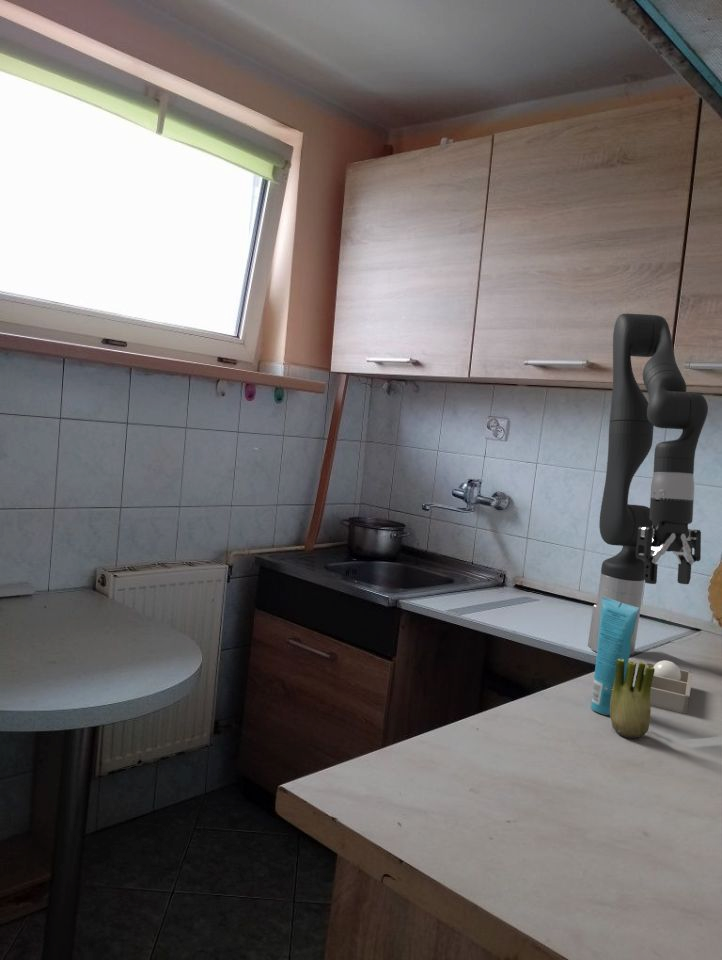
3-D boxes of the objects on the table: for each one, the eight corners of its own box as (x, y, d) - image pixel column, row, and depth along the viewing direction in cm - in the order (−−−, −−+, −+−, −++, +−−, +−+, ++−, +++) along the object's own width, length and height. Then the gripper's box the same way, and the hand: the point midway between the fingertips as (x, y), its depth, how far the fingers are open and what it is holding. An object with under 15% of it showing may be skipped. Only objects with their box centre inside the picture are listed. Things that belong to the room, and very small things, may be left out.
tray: (641, 681, 150) (643, 661, 150) (689, 692, 146) (692, 672, 146) (632, 706, 134) (635, 684, 134) (686, 719, 131) (689, 697, 130)
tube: (631, 716, 129) (647, 606, 128) (616, 721, 126) (631, 608, 125) (594, 701, 135) (608, 595, 133) (578, 705, 132) (592, 597, 130)
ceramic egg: (643, 683, 145) (647, 657, 145) (663, 682, 147) (667, 656, 147) (664, 693, 140) (668, 666, 140) (685, 692, 143) (689, 665, 142)
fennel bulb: (602, 728, 122) (612, 656, 121) (624, 725, 125) (634, 654, 124) (630, 743, 117) (641, 668, 116) (652, 740, 120) (663, 666, 119)
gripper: (682, 499, 149) (677, 581, 148) (628, 494, 142) (623, 580, 142) (715, 500, 142) (710, 586, 142) (660, 495, 136) (655, 586, 135)
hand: (667, 583), depth 142 cm, fingers open, 8 cm apart
